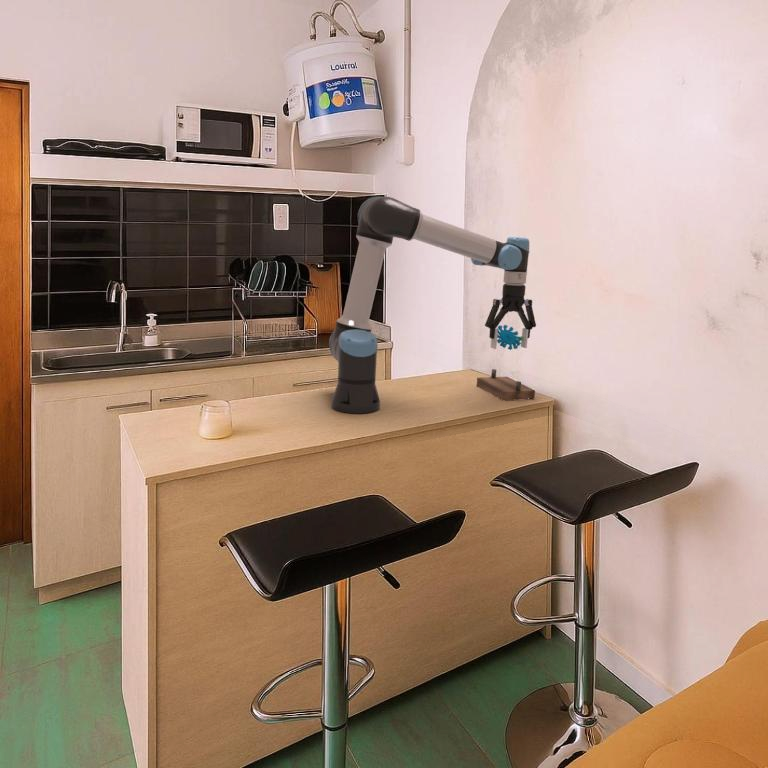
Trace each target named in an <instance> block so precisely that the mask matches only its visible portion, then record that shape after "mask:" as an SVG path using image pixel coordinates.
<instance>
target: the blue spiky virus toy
mask: <svg viewBox="0 0 768 768" xmlns="http://www.w3.org/2000/svg"><path fill="white" fill-rule="evenodd" d="M507 328H508V325H507V324H504V325H500V324H499V325H498V326H497V327H496V329H497V330H498V333H497V344H499V346H501V347H502V348H504V349H505V348H506V347H507V346H508V347H507V349H508V350H510V351H511V350H512V349H514V350H517V349H518V348H519V346H521V340H522V339H523V336H522V335H521V336H518V335H519V331H518V330H516V331H514V327H513V326H510V327H509V328H508V329H507Z"/></svg>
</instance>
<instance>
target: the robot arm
mask: <svg viewBox="0 0 768 768" xmlns="http://www.w3.org/2000/svg"><path fill="white" fill-rule="evenodd" d="M357 222H358V226H357V229H356V235H355V237H356V239H357V240H358V247H357V252H356V256H355V261H354V265H353V269H352V273H351V278H350V283H349V287H348V292H347V295H346V300H345V305H344V309H343V312H342V316H340V317H339V318H338V319H336V321H335V322H336V323H335V326H334V330H333V332H332V333H331V335H330V337H329V341H328V347H329V351H330V353H331V356H332V357H333V358H334V359H335V360H336V361H337V362H338V364H337V366H338V368H337V374H338V375H337V383H336V387H335V390H334V393H333V395H332V398H331V408H332V409H334V410H335V411H338V412H340V413H341V412H342V413H349V414H368V413H369V414H371V413H374V412H376V411H379V410H380V408H381V398H380V396H379V392H378V388H377V385H376V380H377V379H376V377H377V376H376V375H377V357H378V356H377V352H378V345H379V344H378V338H377V336H376V334H374V333H372V326H371V324H370V323H369V321H370V316H371V313H372V309H373V303H374V300H375V295H376V291H377V287H378V284H379V283H378V282H379V280H380V275H381V271H382V266H383V262H384V259H385V258H384V257H385V253H386V250H387V249H388V248H389V247H391V246H392V245H393V240H394V238H398V239H402V240H406V241H408V242H410V241H412V240H416V241H419V242H422V243H425V244H428V245H431V246H434V247H436V248H439V249H442V250H446V251H449V252H452V253H454V254H458V255H461V256H463V257H466V258H470V259H471V260H470V261H471V263H472V264H473V265H474V266H481V267H482V266H487V267H493V268H498V269H501V270H503V271H504V272H503V284H502V292H501V293H502V297H501V299H498V298H494V299H493V300H492V307H491V309H490V311H489V314H488V315H487V316H488V317H487V319H486V320H485V323H484V327H486V328H488V329H489V336H488V337H489V338H490V348H491V349H493V350H496V349H497V344H498V342H497V340H498V338H497V334H498V330H497V328H498V326H500V323H501V322H502V321H503V319H504V317H505V315H507V314H508V313H509V312H510V313H512V312H516V313H517V314H518V316H519V318H520V320H521V322H522V325H523V326H524V327H523V328H522V330H521V331H522V332H521V336H523V339H522V340H521V341H520V342H521V344H520V347H521V348H523V349H527V348H528V339H530V337H531V330H533V328H536V326H537V323H536V320H535V315H534V310H533V300H532V299H529V298H526V299H525V295H526V288H527V287H526V286H525V284H526V283H527V275H528V265H529V255H530V240H529V238H527V237H519V236H518V237H517V236H509V237H507V238H506V242H501V241H497V240H495V239H493V238H490V237H487V236H484V235H481V234H479V233H476V232H473V231H470V230H467V229H465V228H461V227H459V226H457V225H454V224H451V223H447V222H445V221H443V220H439V219H437V218H434V217H431V216H428V215H425V214H423V212H422V210H421V209H418V208H416V207H413V206H411V205H409V204H406V203H404V202H402V201H400V200H399V199H396V198H394V197H391V196H372V197H370V198H368V199H367V200H365V201H364V202H363V203H362V204H361V205H360V207H359V209H358V212H357ZM501 305H502V306H501ZM500 306H501V307H500ZM523 306H524V307H525V309H524V308H523ZM498 311H499V312H498ZM525 311H526V312H525ZM525 313H526V314H525Z"/></svg>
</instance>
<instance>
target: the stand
mask: <svg viewBox="0 0 768 768" xmlns="http://www.w3.org/2000/svg"><path fill="white" fill-rule="evenodd" d="M476 387H479V388H480V389H481V390H484V391H485V392H487V393H488V394H490V393H491V394H490V395H492V396H494V397H495V398H497V397H498V399H499V398H500V399H499V400H501V399H502V400H501V401H503V400H505V401H514V400H513V399H525V400H531V399H530V398H534V399H535V396H536V390H535V389H533V388H531V387H529V386H527V385H525V384H522V382H521V381H519V380H514V379H513V378H511V377H509V376H497V369H496V368H493V369H491V376H485V377H477V378H476ZM528 398H529V399H528Z"/></svg>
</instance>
